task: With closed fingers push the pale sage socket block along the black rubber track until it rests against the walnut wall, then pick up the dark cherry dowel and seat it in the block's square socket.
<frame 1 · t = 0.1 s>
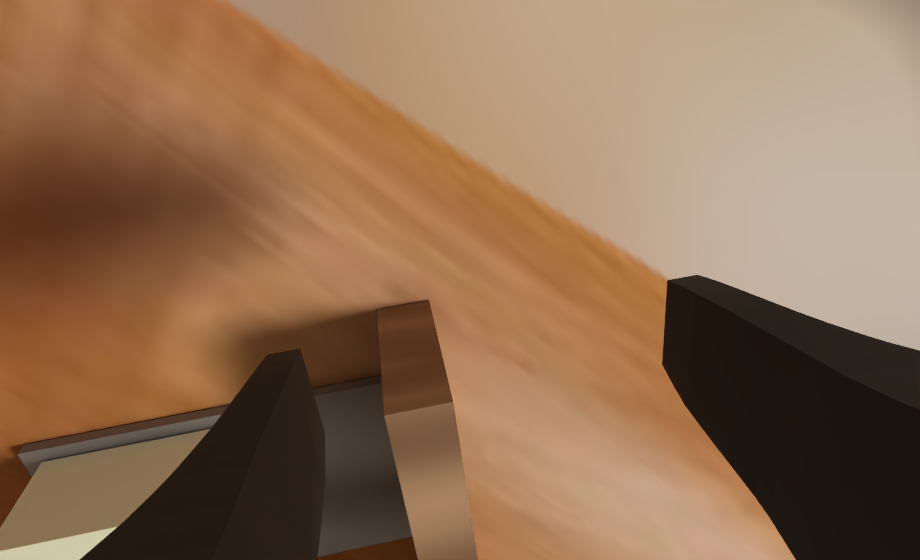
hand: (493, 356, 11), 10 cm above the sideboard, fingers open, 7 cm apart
socket block: (174, 554, 23), point 3 cm above the sideboard, slide at 5.0 cm
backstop: (475, 441, 26), on the sideboard
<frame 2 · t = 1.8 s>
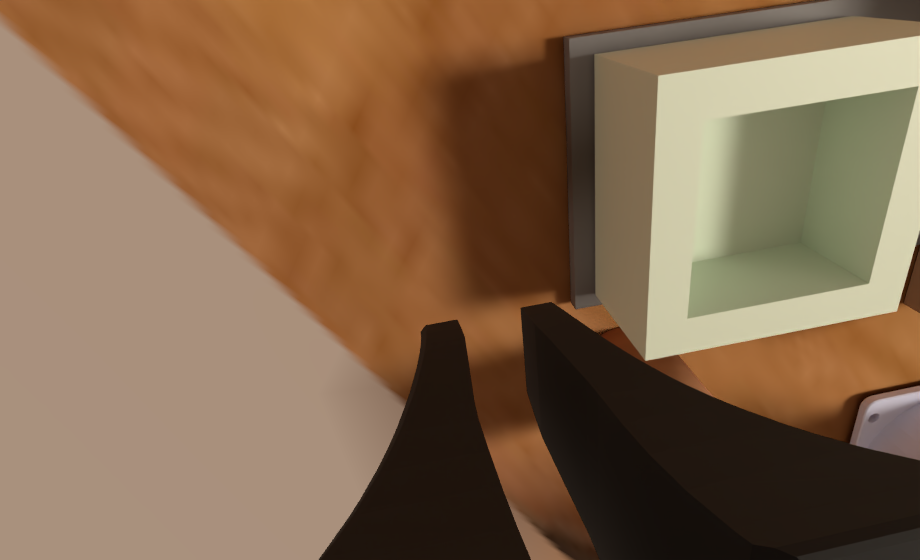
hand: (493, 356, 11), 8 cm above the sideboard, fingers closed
socket block: (750, 186, 17), point 3 cm above the sideboard, slide at 5.0 cm
dowel: (621, 368, 23), on the sideboard
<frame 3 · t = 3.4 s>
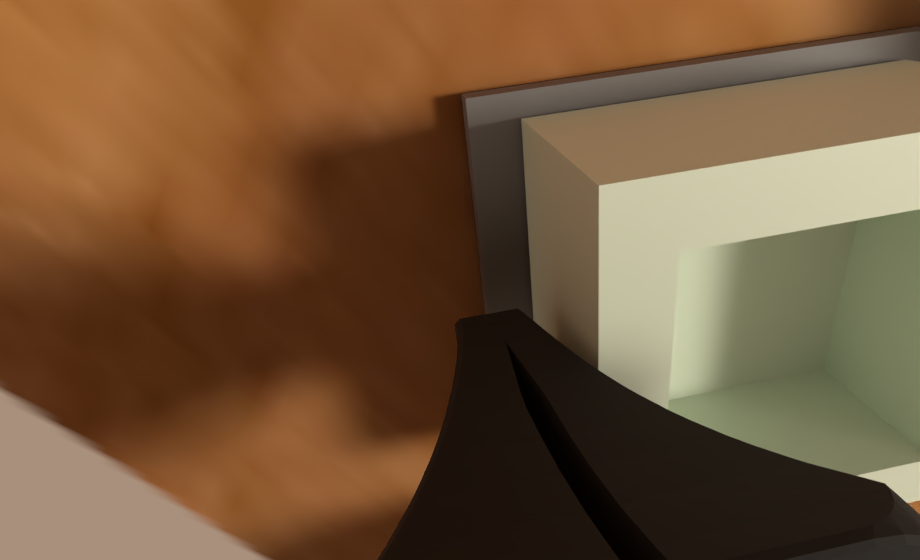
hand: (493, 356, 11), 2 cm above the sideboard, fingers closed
socket block: (754, 312, 12), point 3 cm above the sideboard, slide at 4.7 cm, touching gripper
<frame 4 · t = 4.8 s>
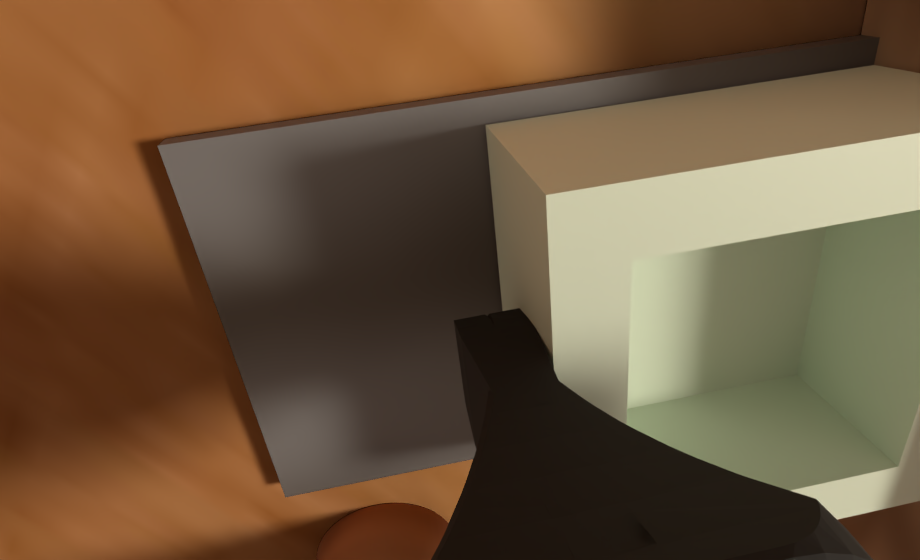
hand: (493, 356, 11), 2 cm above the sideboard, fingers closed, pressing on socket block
socket block: (721, 319, 12), point 3 cm above the sideboard, slide at -0.2 cm, touching gripper
dowel: (387, 552, 17), on the sideboard
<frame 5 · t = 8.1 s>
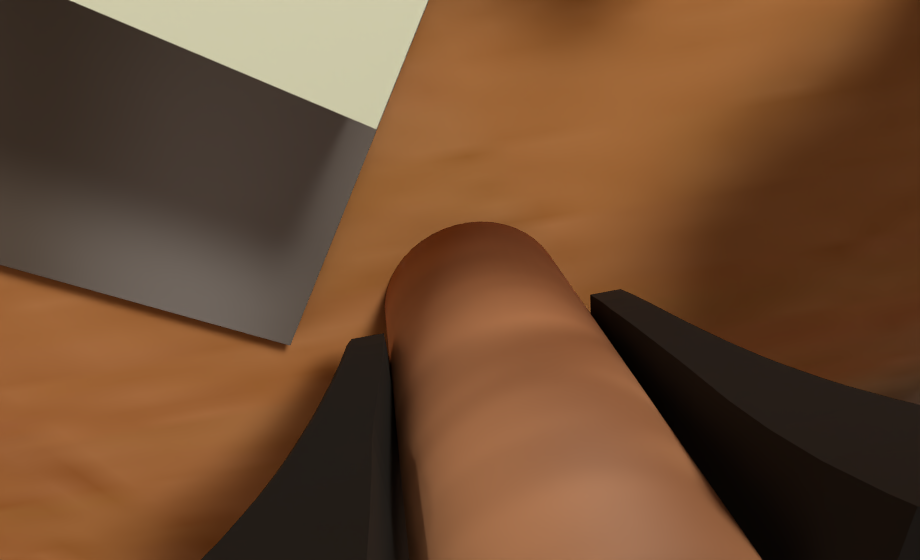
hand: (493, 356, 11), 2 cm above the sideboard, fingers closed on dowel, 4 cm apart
dowel: (474, 304, 13), on the sideboard, touching gripper
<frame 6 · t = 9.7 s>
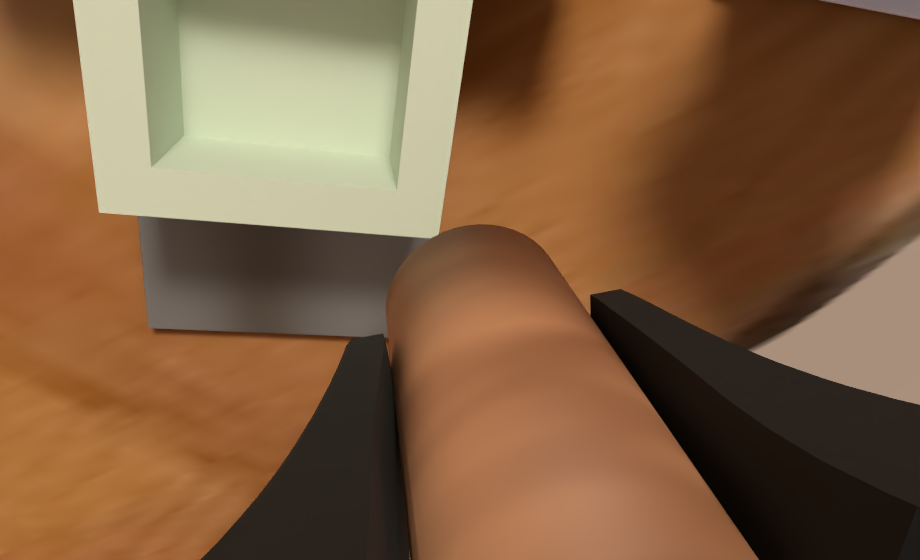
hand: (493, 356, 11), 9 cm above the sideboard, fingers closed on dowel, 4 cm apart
socket block: (289, 45, 15), point 3 cm above the sideboard, slide at 0.0 cm
dowel: (474, 307, 13), point 7 cm above the sideboard, touching gripper
when the fingers open (6 cm above the sideboard, at t = 11.3 s): dowel drops 2 cm, resting on socket block.
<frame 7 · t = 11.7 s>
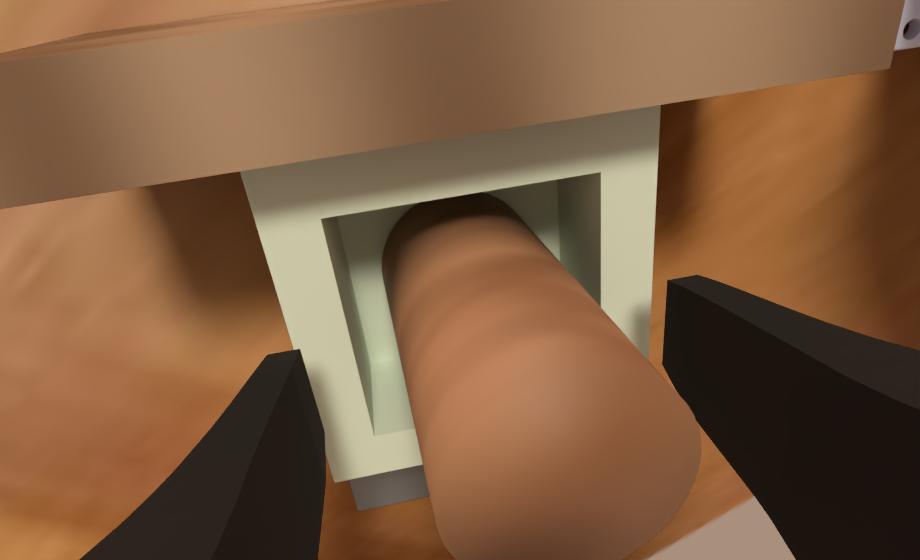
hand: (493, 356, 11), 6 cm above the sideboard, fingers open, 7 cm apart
socket block: (462, 274, 15), point 3 cm above the sideboard, slide at 0.0 cm, touching dowel
dowel: (458, 263, 15), point 2 cm above the sideboard, touching socket block
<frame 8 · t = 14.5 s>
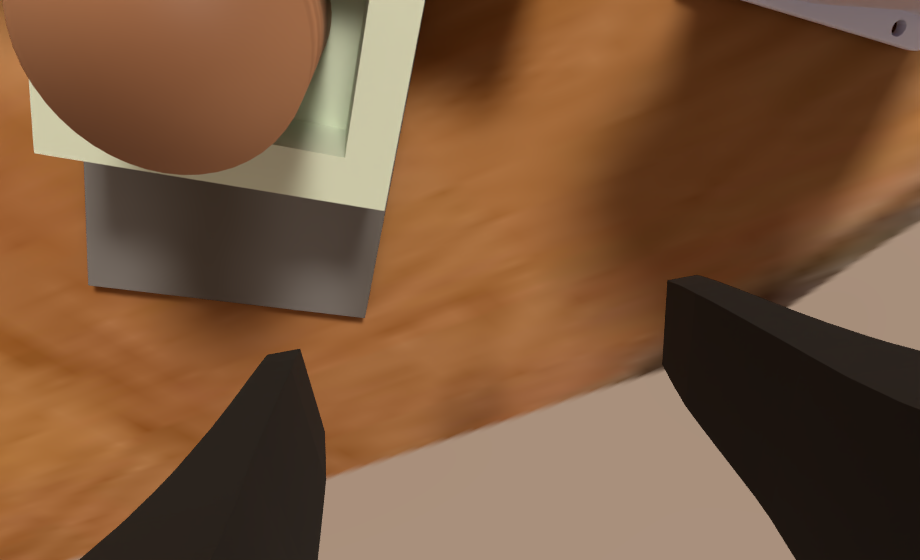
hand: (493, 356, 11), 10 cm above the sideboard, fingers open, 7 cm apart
socket block: (247, 3, 14), point 3 cm above the sideboard, slide at 0.0 cm, touching dowel
dowel: (253, 7, 15), point 2 cm above the sideboard, touching socket block
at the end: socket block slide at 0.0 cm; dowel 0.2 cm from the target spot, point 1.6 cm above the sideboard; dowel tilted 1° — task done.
